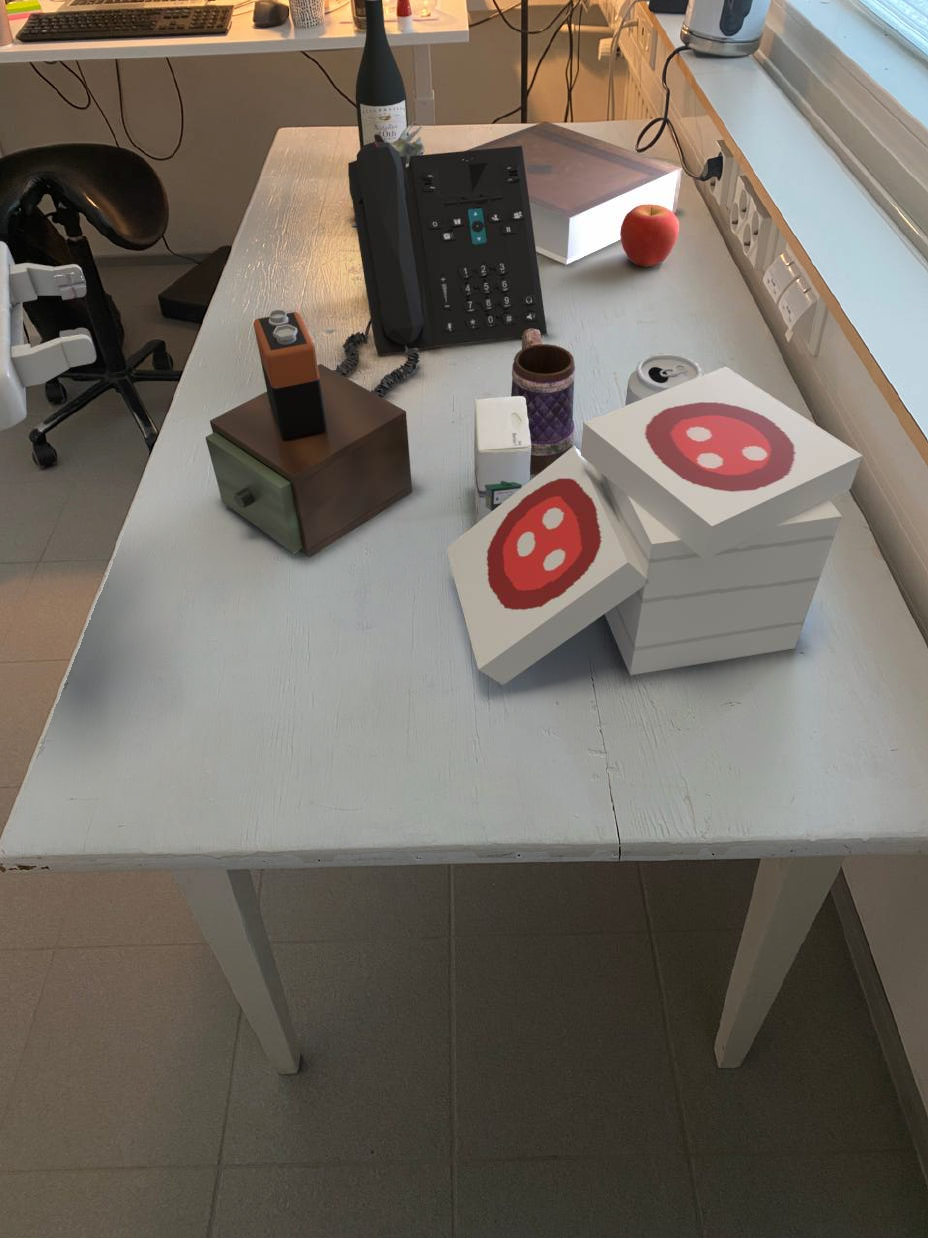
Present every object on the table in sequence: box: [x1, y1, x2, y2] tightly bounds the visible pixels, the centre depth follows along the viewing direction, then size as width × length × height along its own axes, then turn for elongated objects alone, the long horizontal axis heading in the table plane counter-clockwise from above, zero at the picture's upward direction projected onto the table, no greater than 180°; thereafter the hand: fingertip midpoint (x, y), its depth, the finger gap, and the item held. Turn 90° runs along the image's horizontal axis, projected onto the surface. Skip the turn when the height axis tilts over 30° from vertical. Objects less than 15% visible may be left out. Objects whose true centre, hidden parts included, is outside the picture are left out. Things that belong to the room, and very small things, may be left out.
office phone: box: [332, 141, 548, 399], centre depth 110 cm, size 29×28×20 cm
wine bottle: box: [354, 0, 409, 169], centre depth 144 cm, size 8×8×30 cm
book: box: [465, 120, 683, 265], centre depth 141 cm, size 24×28×6 cm
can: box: [624, 353, 703, 406], centre depth 94 cm, size 8×8×12 cm
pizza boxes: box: [445, 366, 864, 686], centre depth 77 cm, size 19×30×18 cm, turn 101°
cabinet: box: [209, 363, 413, 558], centre depth 93 cm, size 14×13×10 cm
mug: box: [510, 328, 576, 474], centre depth 97 cm, size 10×7×12 cm
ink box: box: [473, 396, 531, 524], centre depth 89 cm, size 9×5×12 cm, turn 2°
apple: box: [620, 204, 680, 267], centre depth 128 cm, size 8×8×8 cm
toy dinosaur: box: [348, 120, 425, 229], centre depth 138 cm, size 22×8×11 cm, turn 154°
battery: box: [253, 309, 327, 440], centre depth 85 cm, size 4×7×10 cm, turn 19°
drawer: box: [204, 432, 303, 554], centre depth 91 cm, size 14×12×8 cm
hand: (88, 310), depth 63 cm, fingers open, 8 cm apart
